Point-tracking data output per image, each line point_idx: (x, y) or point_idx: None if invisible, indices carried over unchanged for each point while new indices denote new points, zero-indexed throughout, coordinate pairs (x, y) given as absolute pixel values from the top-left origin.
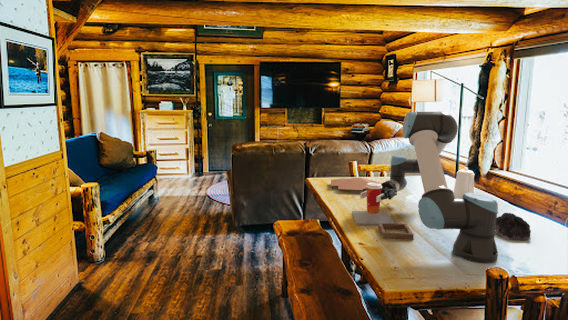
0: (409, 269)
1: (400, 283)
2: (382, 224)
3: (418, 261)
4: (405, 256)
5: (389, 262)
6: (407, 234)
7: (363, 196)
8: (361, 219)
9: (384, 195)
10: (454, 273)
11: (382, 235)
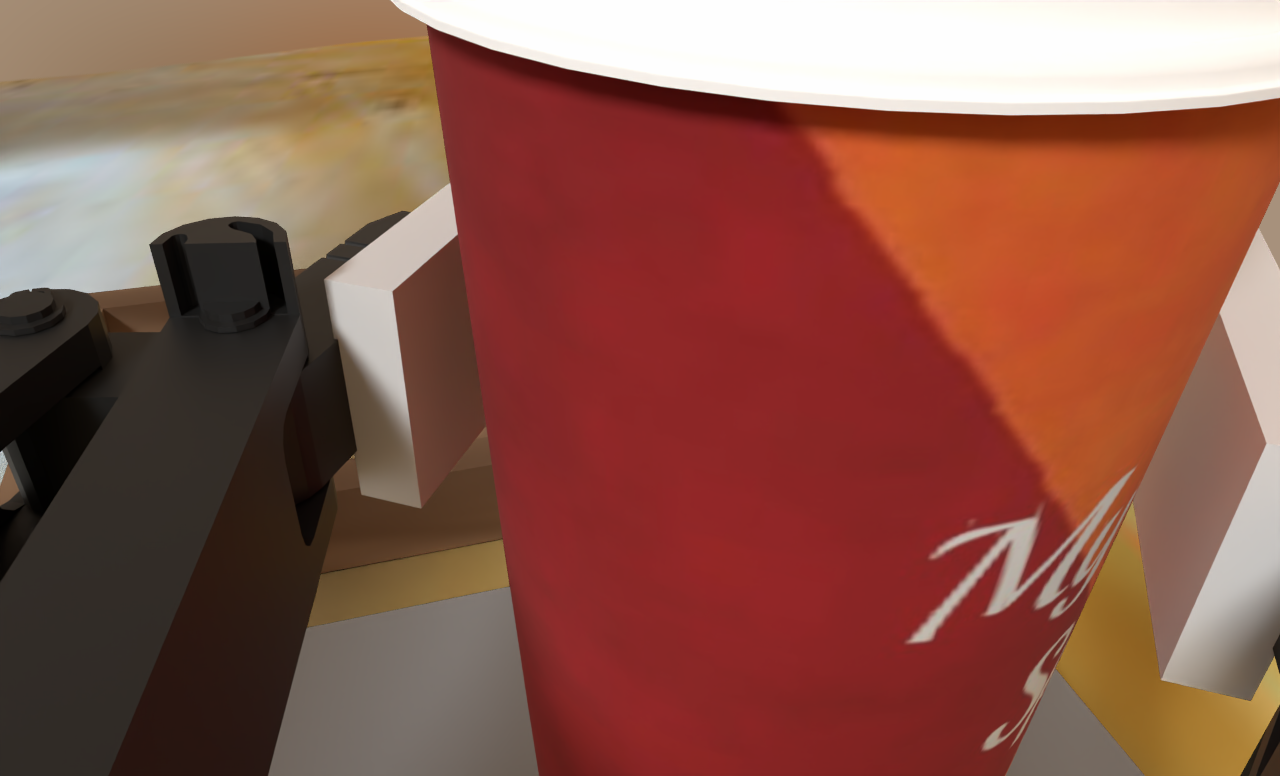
0: (311, 106)
1: (389, 54)
2: None
3: (214, 153)
4: (295, 172)
5: (428, 124)
6: (152, 288)
7: None
8: None
9: (320, 311)
10: (25, 118)
11: None
